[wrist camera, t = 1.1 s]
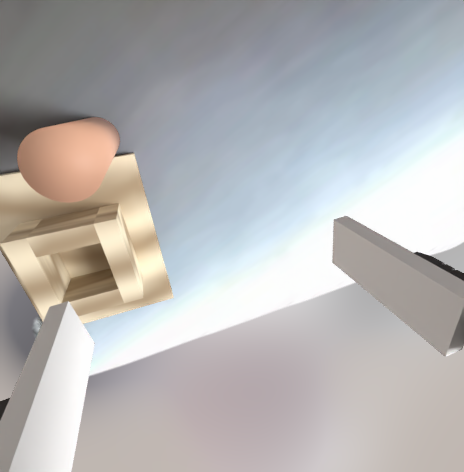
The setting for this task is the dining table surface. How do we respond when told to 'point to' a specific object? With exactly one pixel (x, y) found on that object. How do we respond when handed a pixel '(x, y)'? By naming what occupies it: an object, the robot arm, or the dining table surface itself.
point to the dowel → (68, 158)
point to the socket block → (85, 245)
